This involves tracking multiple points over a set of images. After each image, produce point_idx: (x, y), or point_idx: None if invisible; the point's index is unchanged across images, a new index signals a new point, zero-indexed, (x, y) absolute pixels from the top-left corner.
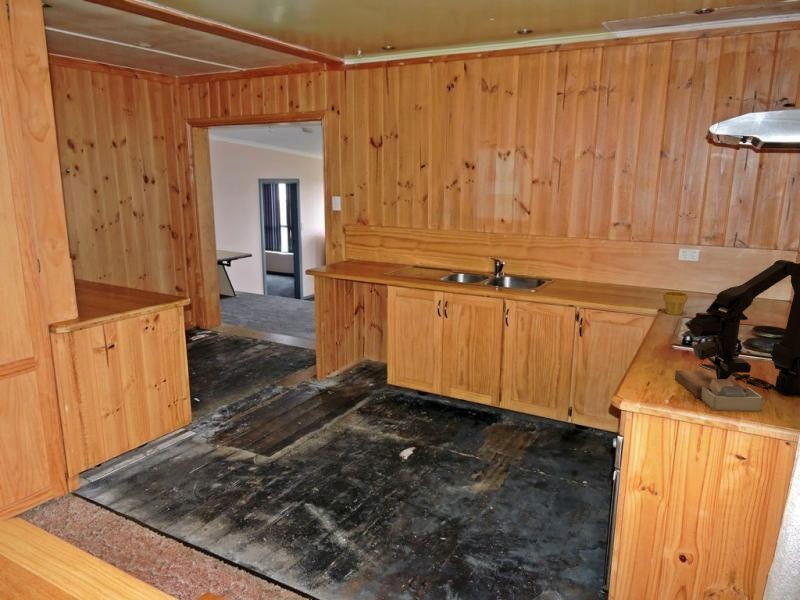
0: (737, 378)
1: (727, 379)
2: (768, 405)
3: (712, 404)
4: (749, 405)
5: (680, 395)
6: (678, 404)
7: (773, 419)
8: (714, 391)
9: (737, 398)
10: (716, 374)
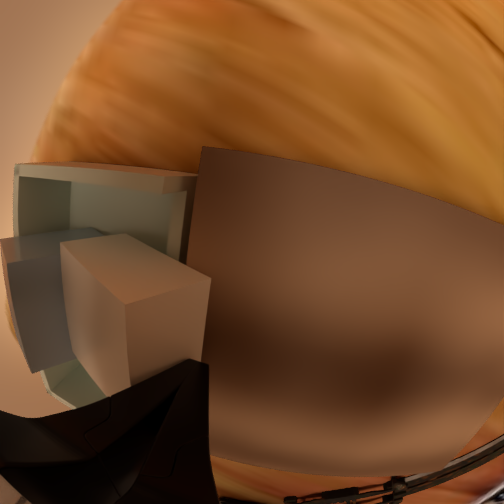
0: (392, 483)
1: None
2: None
3: (66, 162)
4: None
5: (294, 74)
6: (161, 14)
7: None
8: (123, 250)
9: None
10: (196, 417)
